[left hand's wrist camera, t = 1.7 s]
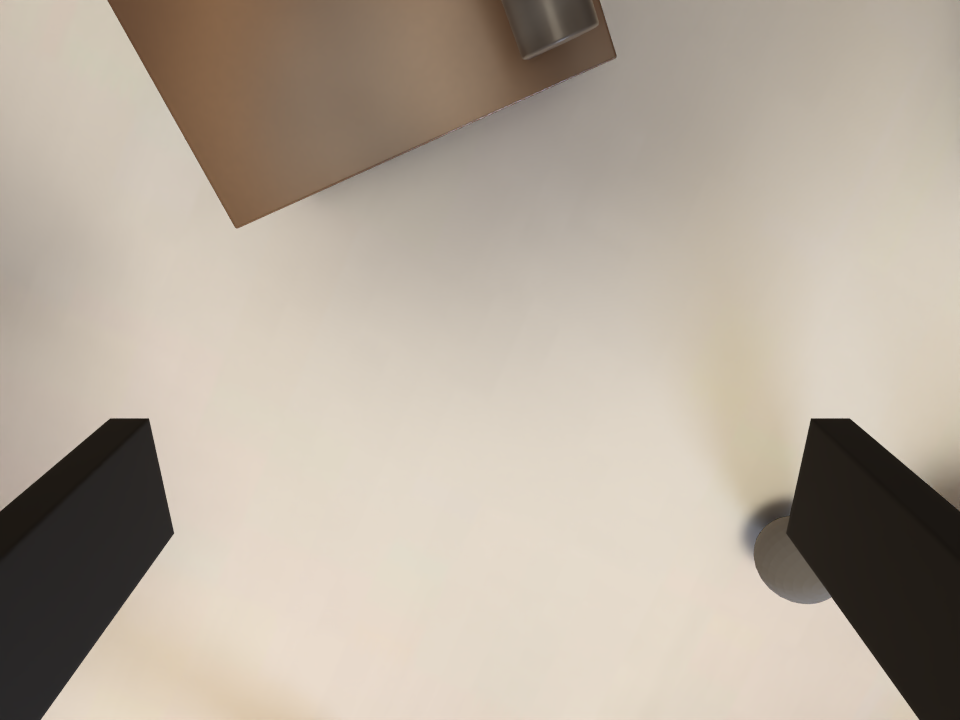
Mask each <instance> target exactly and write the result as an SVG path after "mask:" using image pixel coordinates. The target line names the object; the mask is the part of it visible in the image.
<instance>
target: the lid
mask: <svg viewBox="0 0 960 720" xmlns="http://www.w3.org/2000/svg"><path fill="white" fill-rule="evenodd" d="M108 2H109V4H110V6H111V7H112V9H113V11H114V13H115V15H116V16H117V18H118V20H119V22H120V23H121V25H122V27H123V29H124V31H125V32H126V34H127V36H128V38H129V39H130V41H131V43H132V45H133V47H134V48H135V50H136V52H137V54H138V55H139V57H140V59H141V61H142V63H143V64H144V66H145V68H146V70H147V71H148V73H149V75H150V77H151V79H152V80H153V82H154V84H155V86H156V87H157V89H158V91H159V93H160V95H161V96H162V98H163V100H164V102H165V103H166V105H167V107H168V109H169V111H170V112H171V114H172V116H173V118H174V119H175V121H176V123H177V125H178V127H179V128H180V130H181V132H182V134H183V135H184V137H185V139H186V141H187V143H188V144H189V146H190V148H191V150H192V152H193V153H194V155H195V157H196V159H197V160H198V162H199V164H200V166H201V168H202V169H203V171H204V173H205V175H206V176H207V178H208V180H209V182H210V184H211V185H212V187H213V189H214V191H215V192H216V194H217V196H218V198H219V200H220V201H221V203H222V205H223V207H224V208H225V210H226V212H227V214H228V216H229V217H230V219H231V221H232V223H233V224H234V226H235V228H240V227H242V226H244V225H246V224H249V223H251V222H253V221H255V220H257V219H260V218H262V217H264V216H266V215H269V214H271V213H273V212H275V211H277V210H280V209H282V208H284V207H286V206H289V205H291V204H293V203H295V202H297V201H300V200H302V199H304V198H306V197H309V196H311V195H313V194H315V193H317V192H320V191H322V190H324V189H326V188H329V187H331V186H333V185H335V184H337V183H340V182H342V181H344V180H346V179H348V178H351V177H353V176H355V175H357V174H360V173H362V172H364V171H366V170H368V169H371V168H373V167H375V166H377V165H380V164H382V163H384V162H386V161H388V160H391V159H393V158H395V157H397V156H400V155H402V154H404V153H406V152H408V151H411V150H413V149H415V148H417V147H420V146H422V145H424V144H426V143H428V142H431V141H433V140H435V139H437V138H440V137H442V136H444V135H446V134H448V133H451V132H453V131H455V130H457V129H460V128H462V127H464V126H466V125H468V124H471V123H473V122H475V121H477V120H480V119H482V118H484V117H486V116H488V115H491V114H493V113H495V112H497V111H499V110H502V109H504V108H506V107H508V106H511V105H513V104H515V103H517V102H519V101H522V100H524V99H526V98H528V97H531V96H533V95H535V94H537V93H539V92H542V91H544V90H546V89H548V88H551V87H553V86H555V85H557V84H559V83H562V82H564V81H566V80H568V79H571V78H573V77H575V76H577V75H579V74H582V73H584V72H586V71H588V70H591V69H593V68H595V67H597V66H599V65H602V64H604V63H606V62H608V61H611V60H613V59H615V58H616V52H615V49H614V46H613V43H612V39H611V36H610V33H609V30H608V26H607V23H606V20H605V17H604V13H603V10H602V7H601V4H600V0H108Z"/></svg>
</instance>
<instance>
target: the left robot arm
mask: <svg viewBox="0 0 960 720" xmlns="http://www.w3.org/2000/svg"><path fill="white" fill-rule="evenodd" d="M173 534H174V531H173V526H172V522H171V517H170V513H169V508H168V504H167V499H166V494H165V490H164V485H163V481H162V476H161V472H160V467H159V462H158V458H157V453H156V449H155V444H154V440H153V435H152V430H151V426H150V421H149V419H109V420H108V421H107V422H106V423H104V424H103V425H102V426H101V427H100V428H98V429H97V430H96V431H95V432H94V433H93V434H91V435H90V436H89V437H88V438H87V439H85V440H84V441H83V442H82V443H81V444H80V445H78V446H77V447H76V448H75V449H74V450H72V451H71V452H70V453H69V454H68V455H67V456H65V457H64V458H63V459H62V460H61V461H59V462H58V463H57V464H56V465H55V466H54V467H52V468H51V469H50V470H49V471H48V472H46V473H45V474H44V475H43V476H42V477H41V478H39V479H38V480H37V481H36V482H35V483H33V484H32V485H31V486H30V487H29V488H28V489H26V490H25V491H24V492H23V493H22V494H20V495H19V496H18V497H17V498H16V499H15V500H13V501H12V502H11V503H10V504H9V505H7V506H6V507H5V508H4V509H3V510H2V511H0V720H41V719H42V717H43V716H44V714H45V713H46V712H47V710H48V709H49V707H50V706H51V705H52V703H53V702H54V700H55V699H56V698H57V696H58V695H59V693H60V692H61V691H62V689H63V688H64V686H65V685H66V684H67V682H68V681H69V679H70V678H71V677H72V675H73V674H74V672H75V671H76V670H77V668H78V667H79V665H80V664H81V663H82V661H83V660H84V658H85V657H86V656H87V654H88V653H89V651H90V650H91V649H92V647H93V646H94V644H95V643H96V642H97V640H98V639H99V637H100V636H101V635H102V633H103V632H104V630H105V629H106V628H107V626H108V625H109V624H110V622H111V621H112V619H113V618H114V617H115V615H116V614H117V612H118V611H119V610H120V608H121V607H122V605H123V604H124V603H125V601H126V600H127V598H128V597H129V596H130V594H131V593H132V591H133V590H134V589H135V587H136V586H137V584H138V583H139V582H140V580H141V579H142V577H143V576H144V575H145V573H146V572H147V570H148V569H149V568H150V566H151V565H152V563H153V562H154V561H155V559H156V558H157V556H158V555H159V554H160V552H161V551H162V549H163V548H164V547H165V545H166V544H167V542H168V541H169V540H170V538H171V537H172V535H173ZM786 534H787V535H788V537H789V538H790V540H791V541H792V542H793V544H794V545H795V547H796V548H797V549H798V551H799V552H800V554H801V555H802V556H803V558H804V559H805V561H806V562H807V563H808V565H809V566H810V568H811V569H812V570H813V572H814V573H815V575H816V576H817V577H818V579H819V580H820V582H821V583H822V584H823V586H824V587H825V589H826V590H827V591H828V593H829V594H830V596H831V597H832V598H833V600H834V601H835V603H836V604H837V605H838V607H839V608H840V610H841V611H842V612H843V614H844V615H845V617H846V618H847V619H848V621H849V622H850V624H851V625H852V626H853V628H854V629H855V630H856V632H857V633H858V635H859V636H860V637H861V639H862V640H863V642H864V643H865V644H866V646H867V647H868V649H869V650H870V651H871V653H872V654H873V656H874V657H875V658H876V660H877V661H878V663H879V664H880V665H881V667H882V668H883V670H884V671H885V672H886V674H887V675H888V677H889V678H890V679H891V681H892V682H893V684H894V685H895V686H896V688H897V689H898V691H899V692H900V693H901V695H902V696H903V698H904V699H905V700H906V702H907V703H908V705H909V706H910V707H911V709H912V710H913V712H914V713H915V714H916V716H917V717H918V719H919V720H960V511H958V510H957V509H956V508H955V507H954V506H953V505H951V504H950V503H949V502H948V501H947V500H945V499H944V498H943V497H942V496H941V495H940V494H938V493H937V492H936V491H935V490H934V489H932V488H931V487H930V486H929V485H928V484H927V483H925V482H924V481H923V480H922V479H921V478H919V477H918V476H917V475H916V474H915V473H914V472H912V471H911V470H910V469H909V468H908V467H906V466H905V465H904V464H903V463H902V462H901V461H899V460H898V459H897V458H896V457H895V456H893V455H892V454H891V453H890V452H889V451H888V450H886V449H885V448H884V447H883V446H882V445H880V444H879V443H878V442H877V441H876V440H875V439H873V438H872V437H871V436H870V435H869V434H867V433H866V432H865V431H864V430H863V429H862V428H860V427H859V426H858V425H857V424H856V423H854V422H853V421H852V420H851V419H811V421H810V426H809V430H808V435H807V440H806V444H805V449H804V453H803V458H802V462H801V467H800V472H799V476H798V481H797V485H796V490H795V494H794V499H793V504H792V508H791V513H790V517H789V522H788V526H787V531H786Z"/></svg>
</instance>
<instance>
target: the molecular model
mask: <svg viewBox="0 0 960 720" xmlns="http://www.w3.org/2000/svg"><path fill="white" fill-rule="evenodd" d="M789 517H790V516H786V517H782V518H778V519H776V520H774V521H772V522H771V523H769V524H768V525H767V526H766V527H764V529H763V530H762V531H761V532H760V534H759V536H758V537H757V539H756V543H755V547H754V560H755V565H756V568H757V571H758V573H759V575H760V577H761V579H762V580H763V581H764V582H765V584H766V585H767V586H768V587H769V588H770V589H771V590H772V591H773V592H775V593H776V594H777V595H779V596H780V597H782V598H785V599H787V600H789V601H792V602H796V603H802V604H815V603H819V602H822V601H825V600H827V599H829V598H831V596H830V594H829V593H828V591H827V590H826V589H825V587H824V586H823V584H822V583H821V582H820V580H819V579H818V577H817V576H816V575H815V573H814V572H813V570H812V569H811V568H810V566H809V565H808V563H807V562H806V561H805V559H804V558H803V556H802V555H801V554H800V552H799V551H798V549H797V548H796V547H795V545H794V544H793V542H792V541H791V540H790V538H789V537H788V535H787V534H786V531H787V526H788V522H789Z"/></svg>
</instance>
